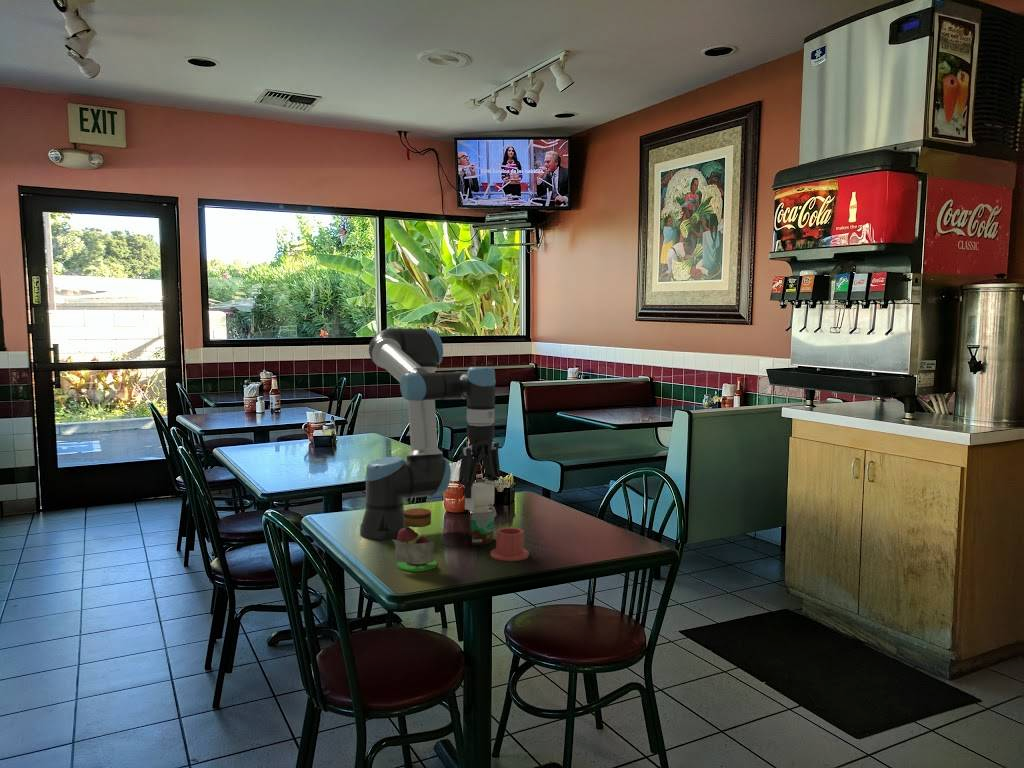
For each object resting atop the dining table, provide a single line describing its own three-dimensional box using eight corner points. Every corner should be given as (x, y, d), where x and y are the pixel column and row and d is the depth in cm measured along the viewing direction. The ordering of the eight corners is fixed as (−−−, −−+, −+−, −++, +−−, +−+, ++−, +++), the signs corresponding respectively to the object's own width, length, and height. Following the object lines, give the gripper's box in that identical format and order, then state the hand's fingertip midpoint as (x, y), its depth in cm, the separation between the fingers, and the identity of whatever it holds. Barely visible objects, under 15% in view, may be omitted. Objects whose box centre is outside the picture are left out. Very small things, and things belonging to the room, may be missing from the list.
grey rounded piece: (458, 511, 204) (459, 485, 203) (476, 505, 210) (477, 481, 210) (481, 516, 199) (482, 490, 198) (499, 510, 206) (500, 485, 205)
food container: (491, 547, 221) (491, 514, 220) (470, 546, 222) (471, 512, 222) (500, 536, 233) (500, 504, 233) (480, 534, 235) (481, 503, 234)
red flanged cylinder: (482, 556, 213) (483, 532, 212) (505, 547, 222) (505, 524, 221) (514, 563, 206) (514, 538, 206) (536, 554, 215) (536, 530, 215)
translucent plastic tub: (393, 559, 209) (393, 506, 208) (439, 558, 210) (439, 506, 209) (389, 573, 197) (389, 517, 196) (437, 572, 198) (438, 517, 197)
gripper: (467, 429, 192) (466, 516, 194) (514, 421, 209) (512, 501, 211) (444, 426, 196) (444, 511, 198) (492, 419, 213) (491, 497, 215)
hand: (479, 506), depth 204 cm, fingers closed on grey rounded piece, 8 cm apart
